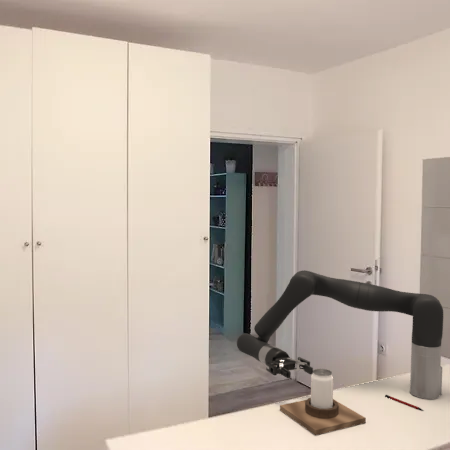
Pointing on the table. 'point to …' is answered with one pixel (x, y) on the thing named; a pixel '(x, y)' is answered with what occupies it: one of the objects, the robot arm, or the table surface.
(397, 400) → the pencil
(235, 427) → the table surface
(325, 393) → the can
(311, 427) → the socket board
